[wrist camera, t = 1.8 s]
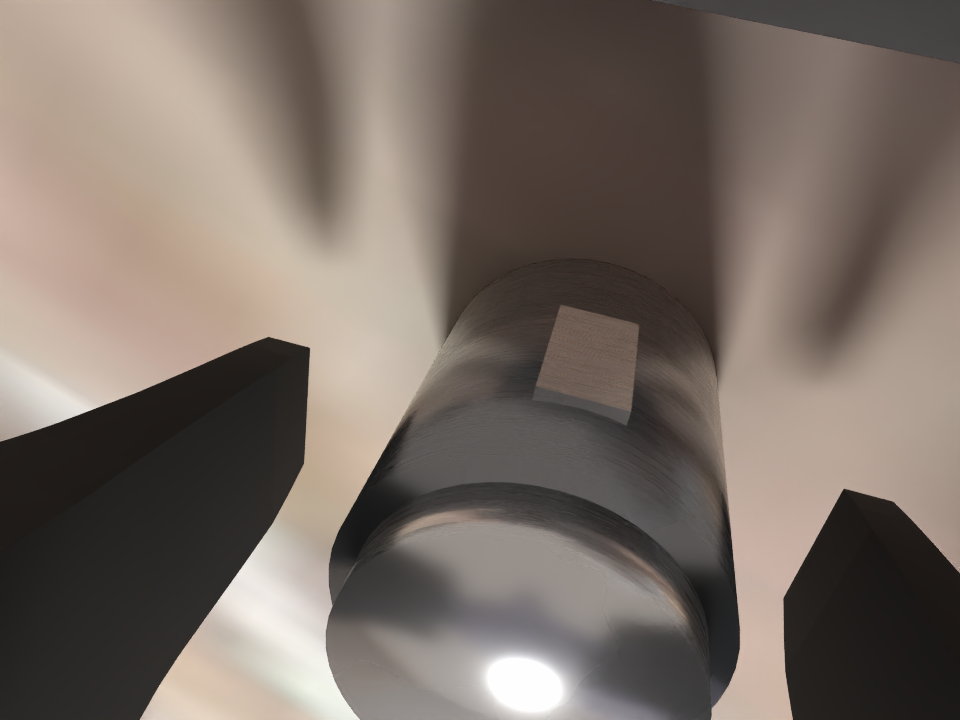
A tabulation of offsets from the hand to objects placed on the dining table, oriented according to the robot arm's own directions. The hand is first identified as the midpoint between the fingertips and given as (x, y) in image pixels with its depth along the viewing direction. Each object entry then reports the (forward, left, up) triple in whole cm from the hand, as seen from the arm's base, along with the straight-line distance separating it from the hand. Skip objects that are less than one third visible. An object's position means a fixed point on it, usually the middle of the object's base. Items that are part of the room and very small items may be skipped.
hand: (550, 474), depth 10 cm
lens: (0, 0, -3) cm, 3 cm away
